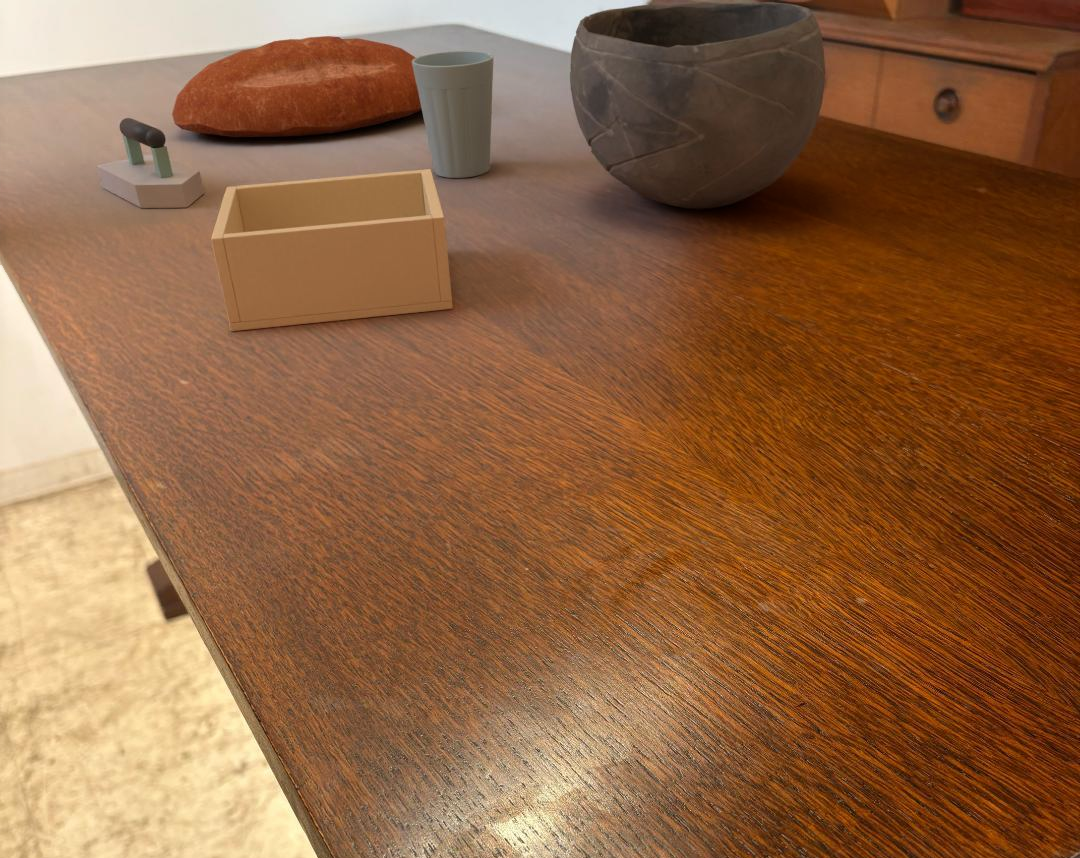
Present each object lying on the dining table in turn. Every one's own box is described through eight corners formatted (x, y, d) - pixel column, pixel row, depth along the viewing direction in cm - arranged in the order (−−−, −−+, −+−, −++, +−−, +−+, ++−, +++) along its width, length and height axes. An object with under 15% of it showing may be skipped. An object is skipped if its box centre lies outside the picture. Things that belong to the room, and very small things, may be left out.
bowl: (561, 175, 105) (555, 3, 96) (776, 160, 106) (789, -11, 97) (588, 245, 87) (585, 43, 79) (845, 227, 88) (868, 25, 80)
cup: (426, 162, 111) (415, 52, 105) (501, 158, 111) (494, 48, 105) (419, 183, 105) (407, 67, 99) (499, 179, 105) (491, 63, 99)
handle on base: (101, 187, 108) (83, 119, 105) (163, 174, 112) (147, 108, 108) (153, 215, 100) (136, 142, 96) (218, 200, 103) (203, 128, 99)
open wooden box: (230, 331, 76) (210, 238, 72) (243, 270, 86) (226, 186, 82) (452, 309, 77) (444, 217, 74) (438, 251, 88) (430, 168, 84)
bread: (469, 123, 125) (462, 39, 120) (185, 160, 116) (165, 71, 111) (419, 87, 142) (412, 13, 137) (170, 117, 134) (152, 39, 129)
